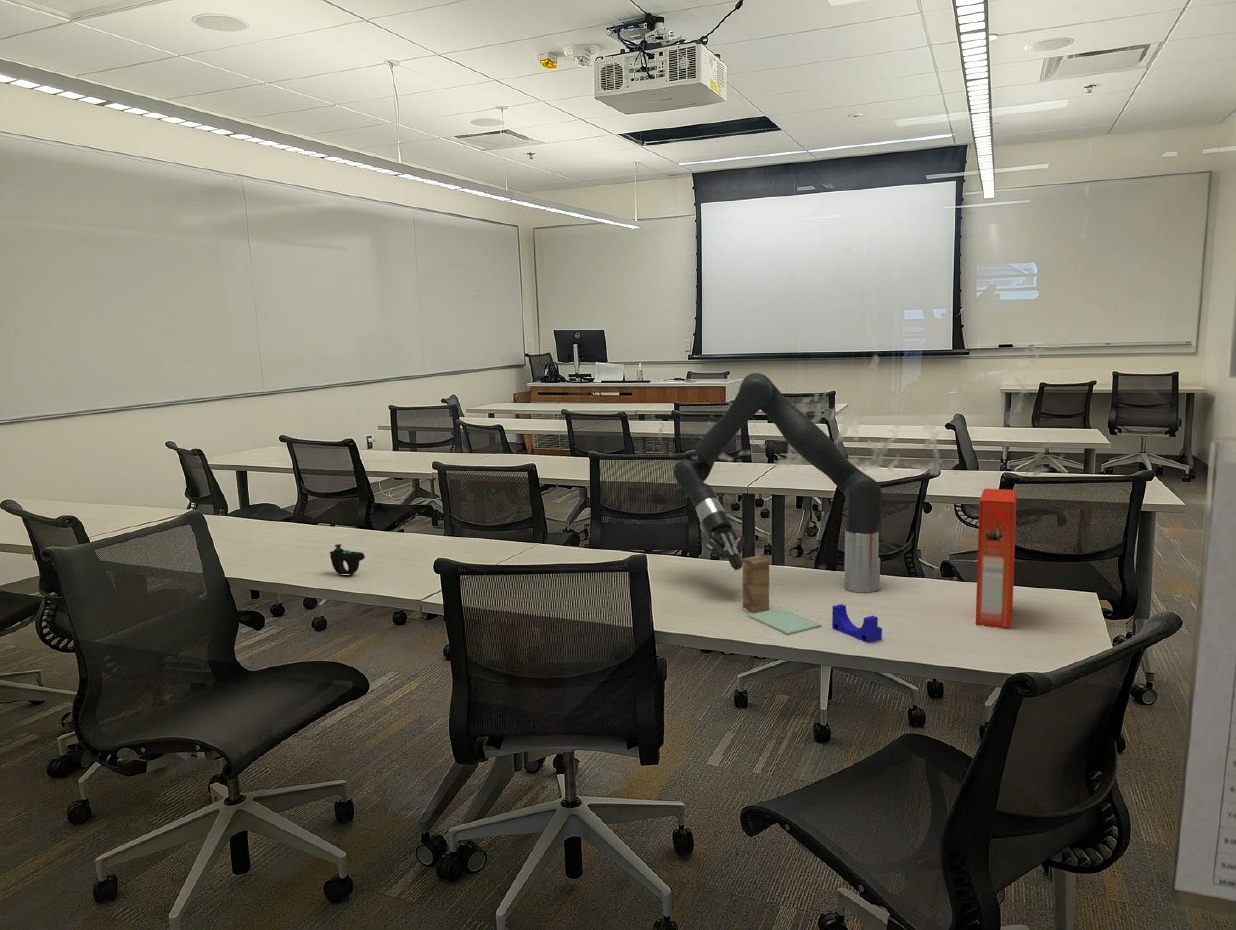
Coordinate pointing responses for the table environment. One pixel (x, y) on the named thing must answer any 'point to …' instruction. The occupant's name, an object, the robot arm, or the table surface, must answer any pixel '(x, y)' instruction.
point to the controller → (345, 555)
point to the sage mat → (784, 621)
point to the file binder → (996, 557)
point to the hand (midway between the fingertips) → (739, 568)
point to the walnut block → (756, 584)
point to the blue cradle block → (844, 625)
